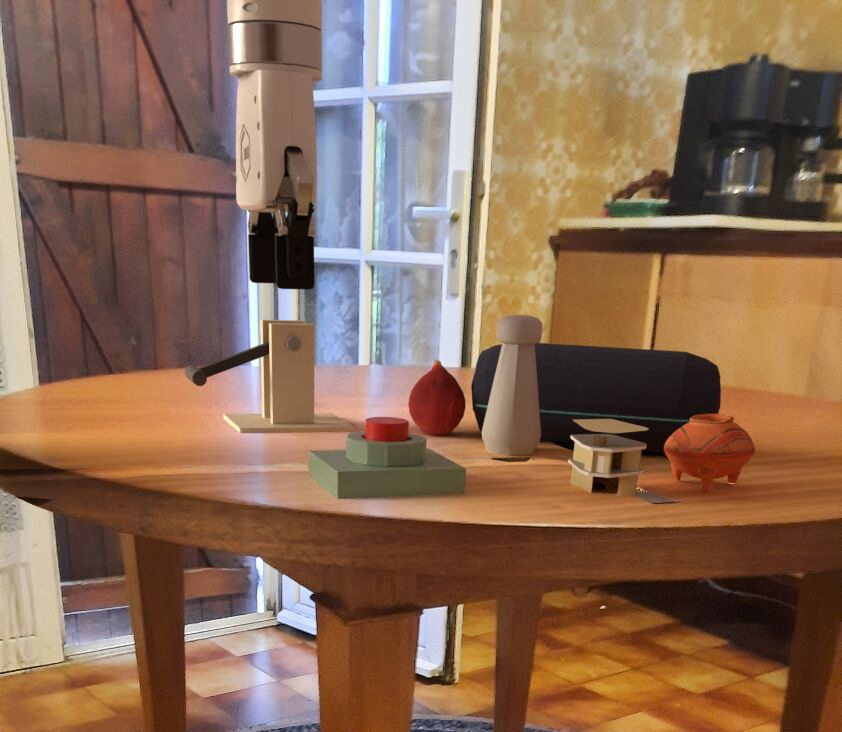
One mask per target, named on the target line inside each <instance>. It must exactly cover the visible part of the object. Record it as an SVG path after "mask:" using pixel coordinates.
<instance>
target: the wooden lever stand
mask: <svg viewBox="0 0 842 732" xmlns="http://www.w3.org/2000/svg"><path fill="white" fill-rule="evenodd" d="M259 321H260V345H261V344H264V343H266V342H269V355H266V356H263V357H261V358H260V360H261V361H260V363H261V366H260V367H261V410H262V411H261V413H223V420H224V421H226V422H227V424H229V425H230V426H232V428H233V429H235V430H236V431H237V432H238V433H240V434H251V433H252V434H253V433H256V434H258V433H266V434H267V433H323V432H324V433H325V432H326V433H328V432H333V433H334V432H335V433H336V432H337V433H338V432H356V426H354V425H353V424H351V423H349V422H347V420H344V419H342V418H341V417H339V416H337V415H336V414H334V413H332V412H331V413H330V412H319V413H318V412H316V413H315V324H314V323H305V321H304V320H297V319H296V320H295V319H293V320H291V319H290V320H289V319H260V320H259Z"/></svg>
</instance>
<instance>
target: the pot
mask: <svg viewBox="0 0 842 732" xmlns="http://www.w3.org/2000/svg"><path fill="white" fill-rule="evenodd" d="M734 420H735V418H734V416H732V415H725V414H722V413H718V414H700V415H695V416H692V417H691V418H690V422H689V423H687V424H685V425H683V426H682V427H680V428H679V429H678V430H676V431H675V432H674V433H673V434H672V435H671V436H670V437H669V438H668V439H667V441H666V443H665V445H664V451H665V454H664V455H666V457H667V459H668V460H669V461H670V466H671V475H672V478H674V479H675V480H676V481H678V480H680V481H681V479H682V474H683V473H684V474H685V475H688V476H690V477H693V478H695V479H700V482H701V485H702V491H703V490H704V491H703V492H705V491H707V492H708V491H709V490H710V489H709V488H710V486H711V484H712V482H713V480H717V479H721V478H724V477H727V483H728V482H729V483H735V484H736V483H737V481H738V479H739V477H740V475H741V471H742V469H743V467H744V466H746V465H747V464H748V463H749V462H750V461H751V460H752V458H753V457H754V455H755V454H756V447H755V444H754V441H753V439H752V437H751V435H750V434H749V433H748V432H747V431H746V430H745V428H743V427H742V426H741V425H739V424H738V423H736V422H734Z"/></svg>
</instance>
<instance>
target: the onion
mask: <svg viewBox="0 0 842 732" xmlns="http://www.w3.org/2000/svg"><path fill="white" fill-rule="evenodd" d="M407 405H408V412H409V415H410V417H411V419H412V421H413V422H414V424H415V425H416V426H417V427H418V428H419V430H420V431H421V432H422V433H423V434H424V435H425V436H429V437H445V436H447V435H449V434H450V433H452V432H453V431H454V430H455V429H456V428H457V427H458V426H459V425H460V423H461V422H462V420H463V418H464V416H465V412H466V397H465V393H464V391H463V390H462V387H461V386H460V384H459V382H458V381H457V379H456V377H455V376H453V374H451V373H450V372H449V371H448V370H447V369H446V368H445V367H444V366H443V365H442V362H441V360H439V359H434V361H433V364H432V367H431V369H430V370H429V371H428V372H426V373H425V374H424V375H422V376H421V377H420V378H419V379H418V381H417V382H416V383H415V384H414V385H413V388H412V389H411V391H410V394H409V397H408V404H407Z"/></svg>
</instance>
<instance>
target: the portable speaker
mask: <svg viewBox="0 0 842 732" xmlns="http://www.w3.org/2000/svg"><path fill="white" fill-rule="evenodd" d="M501 347H502V343H500V344H495V345H493V346H490V347H488V348H486V349H484V350H482V351H481V352H480V354H479V355H478V357H477V361H476V364H475V370H474V374H473V377H472V381H471V386H470V389H471V403H472V410H473V413H474V417H475V420H476V423H477V427H478V430H479V432H481V433H482V428H483V424H484V420H485V416H486V411H487V407H488V403H489V398H490V394H491V390H492V386H493V381H494V377H495V373H496V369H497V364H498V360H499V356H500V352H501ZM535 356H536V370H537V384H538V398H539V412H540V426H541V438H540V442H543V443H552V444H554V445H557V446H559V447H567V448H574V444H575V441H573V440H572V439H571V438H570V436H571V435H584V434H611V435H615V436H619V437H623V438H627V439H631V440H635V441H639V442H643V443H645V444H647V446H646V449H643V450H641V453H646V454H658V453H661V455H666V454H665V451H664V445H665V443H666V441H667V439H668V438H669V437H670V436H671V435H672V434H673V433H674V432H675V431H676V430H678V429H679V428H680V427H682V426H683V425H685V424H687V423H689V422H690V418H691V417H692V416H695V415H700V414H720V409H721V405H722V404H721V402H722V401H721V400H722V399H721V398H722V397H721V396H722V389H721V387H722V386H721V385H722V384H721V374H720V370H719V366H718V365H717V364H716V363H714V362H713V361H711V360H709V359H708V358H706V357H703V356H700V355H697V354H694V353H691V352H688V351H678V350H664V349H663V350H661V349H647V348H646V349H645V348H631V347H629V348H628V347H613V346H599V345H598V346H597V345H580V344H579V345H578V344H564V343H548V342H547V343H546V342H540V343H537V344H535ZM579 419H613V420H617V421H622V422H626V423H630V424H634V425H638V426H643V427H646V428H648V429H649V430H645V431H635V432H624V433H607V432H596V431H590V430H587V429H584V428H583V427H581V426H580V425H579V424H577V423H576V422H574V421H573V420H579Z"/></svg>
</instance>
